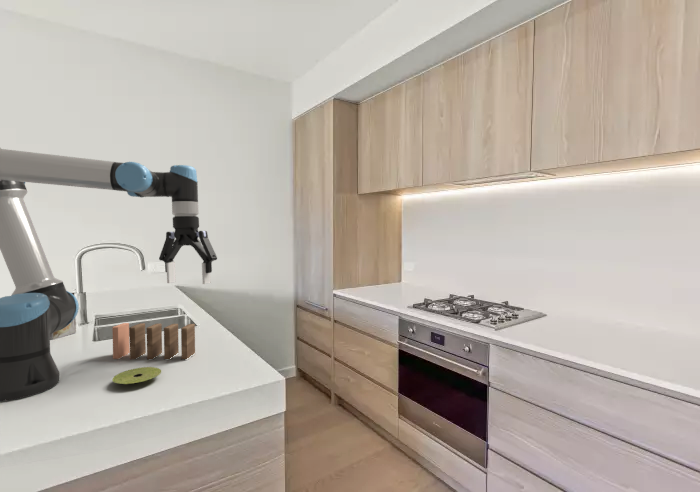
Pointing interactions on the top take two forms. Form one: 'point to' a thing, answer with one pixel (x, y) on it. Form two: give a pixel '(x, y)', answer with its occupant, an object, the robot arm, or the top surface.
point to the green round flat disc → (136, 375)
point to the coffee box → (65, 330)
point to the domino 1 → (120, 340)
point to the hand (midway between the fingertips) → (188, 283)
